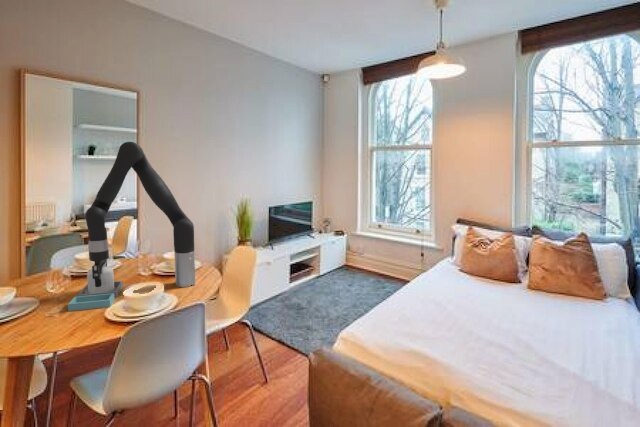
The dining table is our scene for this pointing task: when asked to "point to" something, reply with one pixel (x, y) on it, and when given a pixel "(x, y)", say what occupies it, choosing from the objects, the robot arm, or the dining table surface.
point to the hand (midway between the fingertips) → (101, 283)
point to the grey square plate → (116, 284)
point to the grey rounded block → (106, 281)
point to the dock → (91, 302)
